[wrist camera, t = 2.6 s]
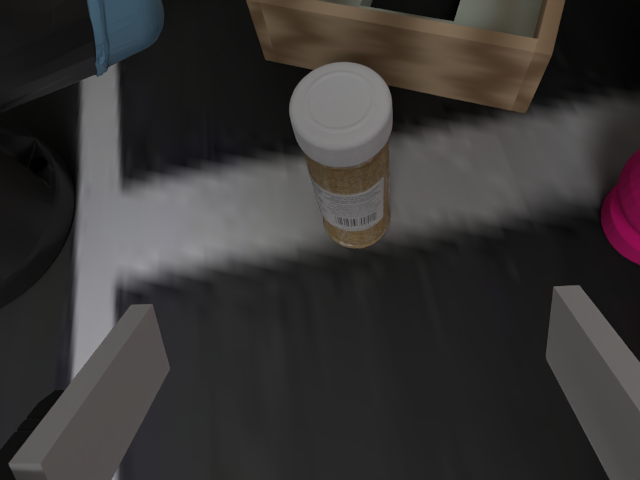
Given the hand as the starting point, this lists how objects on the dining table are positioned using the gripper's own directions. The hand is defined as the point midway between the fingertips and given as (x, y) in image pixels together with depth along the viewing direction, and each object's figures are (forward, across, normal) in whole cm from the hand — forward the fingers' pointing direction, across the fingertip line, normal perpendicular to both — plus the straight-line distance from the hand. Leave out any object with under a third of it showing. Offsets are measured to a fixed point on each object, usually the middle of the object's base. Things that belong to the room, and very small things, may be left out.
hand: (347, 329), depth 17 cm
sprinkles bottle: (+18, 0, -4) cm, 18 cm away
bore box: (+31, +5, +10) cm, 32 cm away
